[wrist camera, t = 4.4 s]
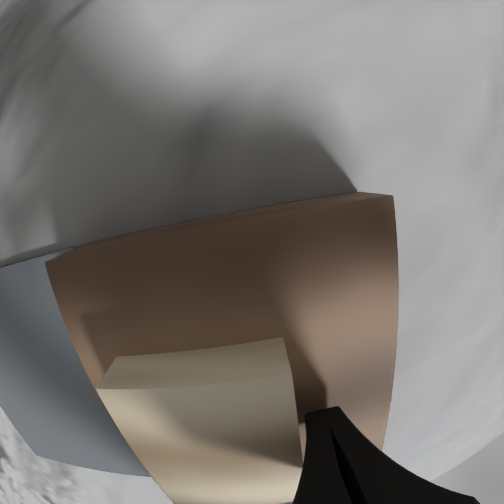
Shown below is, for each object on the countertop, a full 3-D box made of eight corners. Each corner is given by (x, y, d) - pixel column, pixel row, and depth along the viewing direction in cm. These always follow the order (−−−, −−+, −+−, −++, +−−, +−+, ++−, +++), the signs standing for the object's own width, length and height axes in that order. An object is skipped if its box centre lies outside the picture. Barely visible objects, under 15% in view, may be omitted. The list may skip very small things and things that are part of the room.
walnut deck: (361, 448, 15) (374, 481, 12) (183, 474, 15) (177, 507, 12) (358, 192, 11) (392, 195, 8) (82, 244, 11) (44, 262, 8)
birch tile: (301, 467, 11) (306, 499, 9) (182, 477, 11) (177, 507, 9) (283, 337, 9) (291, 372, 7) (116, 356, 9) (95, 388, 7)
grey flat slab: (179, 474, 15) (178, 478, 15) (38, 452, 15) (36, 455, 15) (77, 246, 11) (73, 248, 11) (-51, 283, 12) (-55, 284, 11)
